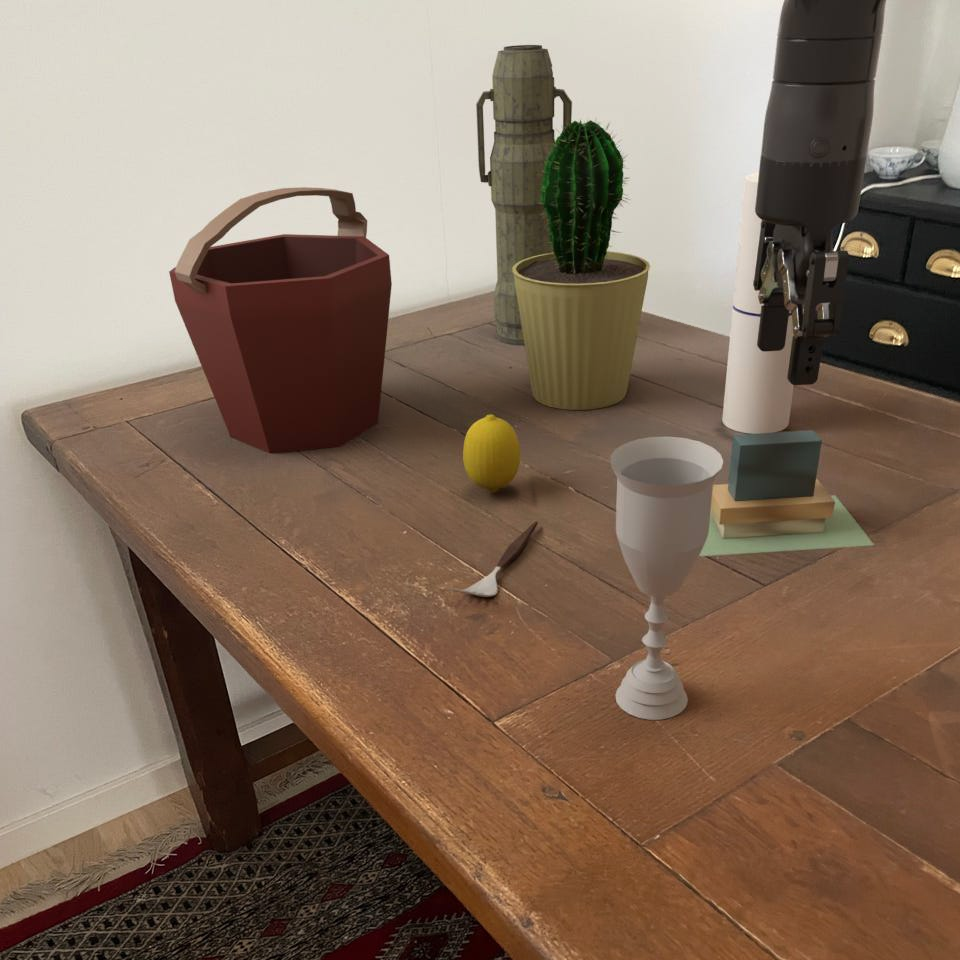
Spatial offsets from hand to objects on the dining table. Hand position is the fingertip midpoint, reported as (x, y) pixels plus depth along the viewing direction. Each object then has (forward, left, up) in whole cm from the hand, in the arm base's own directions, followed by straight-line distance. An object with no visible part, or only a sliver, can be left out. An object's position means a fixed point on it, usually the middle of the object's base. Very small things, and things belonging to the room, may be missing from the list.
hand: (785, 365), depth 84 cm
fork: (+24, +4, -15) cm, 29 cm away
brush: (0, 0, -15) cm, 15 cm away
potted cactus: (+12, -37, -15) cm, 42 cm away
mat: (0, 0, -15) cm, 15 cm away
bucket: (+44, -32, -15) cm, 56 cm away
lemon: (+24, -11, -15) cm, 30 cm away
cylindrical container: (-6, -25, -15) cm, 30 cm away
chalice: (+15, +24, -15) cm, 32 cm away
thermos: (+16, -61, -15) cm, 65 cm away
